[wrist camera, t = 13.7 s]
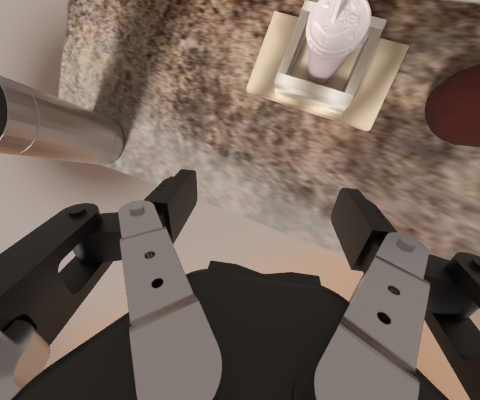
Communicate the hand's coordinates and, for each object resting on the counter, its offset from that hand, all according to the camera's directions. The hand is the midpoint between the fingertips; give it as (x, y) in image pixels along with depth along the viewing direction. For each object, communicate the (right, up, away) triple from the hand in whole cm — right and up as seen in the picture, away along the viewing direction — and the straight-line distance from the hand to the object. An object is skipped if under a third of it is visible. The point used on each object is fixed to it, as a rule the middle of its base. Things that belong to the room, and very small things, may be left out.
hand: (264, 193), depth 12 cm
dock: (+11, +19, +20) cm, 30 cm away
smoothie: (+11, +19, +19) cm, 29 cm away
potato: (+29, +11, +18) cm, 36 cm away
